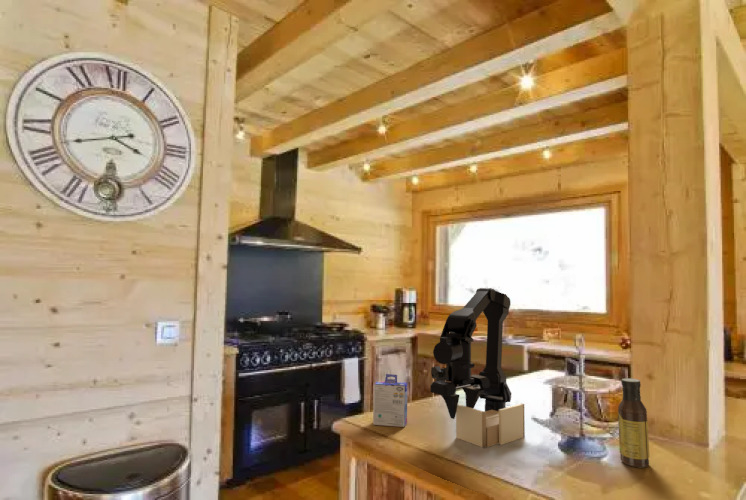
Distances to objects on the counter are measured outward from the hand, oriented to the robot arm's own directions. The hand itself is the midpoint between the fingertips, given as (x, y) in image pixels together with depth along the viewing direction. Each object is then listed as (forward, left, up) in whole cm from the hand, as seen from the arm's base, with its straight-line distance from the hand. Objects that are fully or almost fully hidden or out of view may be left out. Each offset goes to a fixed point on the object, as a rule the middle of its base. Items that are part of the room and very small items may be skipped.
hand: (460, 416), depth 126 cm
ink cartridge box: (+7, -22, -6) cm, 24 cm away
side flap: (-11, +9, -6) cm, 15 cm away
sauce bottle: (-21, +36, -6) cm, 42 cm away
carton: (-8, +3, -6) cm, 11 cm away
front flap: (0, +4, -6) cm, 7 cm away
